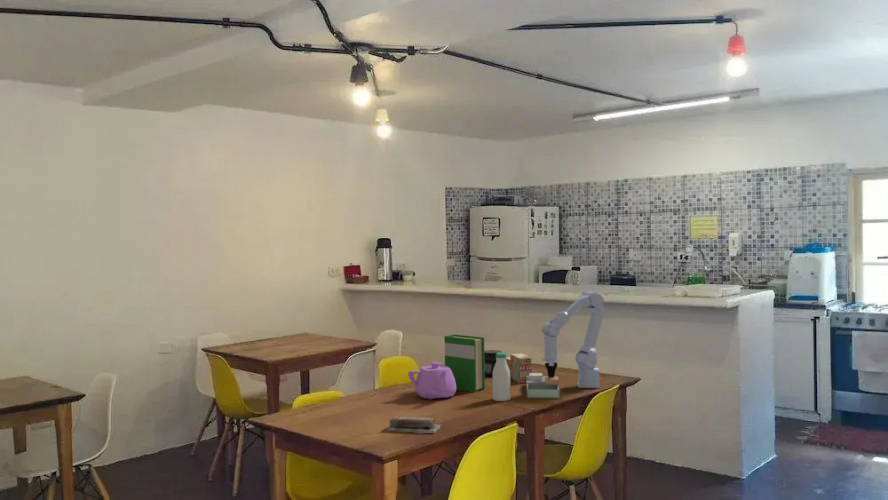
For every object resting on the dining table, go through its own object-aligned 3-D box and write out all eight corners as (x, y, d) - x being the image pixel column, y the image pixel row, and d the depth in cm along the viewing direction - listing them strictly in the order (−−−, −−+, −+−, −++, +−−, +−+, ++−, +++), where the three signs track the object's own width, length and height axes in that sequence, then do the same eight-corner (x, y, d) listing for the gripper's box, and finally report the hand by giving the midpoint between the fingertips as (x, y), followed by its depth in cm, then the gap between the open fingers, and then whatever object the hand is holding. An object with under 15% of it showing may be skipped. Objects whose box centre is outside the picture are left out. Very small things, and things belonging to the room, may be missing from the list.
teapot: (404, 394, 322) (403, 361, 322) (448, 390, 328) (448, 358, 328) (417, 406, 300) (416, 370, 300) (464, 401, 307) (464, 366, 306)
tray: (558, 392, 322) (558, 384, 322) (559, 398, 310) (559, 390, 310) (527, 391, 324) (527, 383, 324) (526, 397, 312) (526, 389, 312)
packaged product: (386, 419, 263) (395, 413, 273) (387, 432, 263) (395, 425, 273) (434, 421, 259) (441, 415, 268) (434, 435, 259) (441, 427, 269)
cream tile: (542, 377, 335) (542, 373, 335) (542, 380, 329) (542, 375, 329) (529, 377, 336) (529, 373, 336) (529, 379, 330) (529, 375, 330)
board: (557, 384, 337) (557, 376, 337) (559, 392, 322) (558, 383, 322) (526, 384, 339) (526, 376, 338) (526, 391, 324) (526, 382, 324)
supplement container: (506, 374, 364) (506, 350, 363) (496, 378, 355) (496, 353, 354) (488, 372, 369) (488, 349, 369) (478, 376, 360) (477, 352, 360)
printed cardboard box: (503, 375, 362) (503, 351, 362) (515, 374, 364) (514, 350, 363) (519, 383, 341) (519, 358, 341) (531, 382, 343) (531, 357, 343)
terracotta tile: (558, 381, 325) (558, 377, 325) (559, 384, 319) (558, 380, 319) (544, 381, 326) (544, 377, 326) (545, 384, 320) (545, 380, 320)
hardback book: (484, 389, 330) (484, 337, 329) (475, 392, 324) (474, 339, 324) (455, 384, 341) (454, 334, 341) (445, 387, 336) (444, 336, 335)
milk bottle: (509, 401, 305) (508, 355, 305) (491, 401, 307) (490, 354, 306) (511, 397, 313) (510, 352, 312) (494, 397, 314) (493, 351, 314)
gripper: (542, 346, 334) (542, 375, 334) (542, 351, 319) (542, 382, 320) (557, 346, 333) (557, 375, 333) (558, 351, 318) (558, 382, 319)
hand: (551, 378), depth 326 cm, fingers closed
